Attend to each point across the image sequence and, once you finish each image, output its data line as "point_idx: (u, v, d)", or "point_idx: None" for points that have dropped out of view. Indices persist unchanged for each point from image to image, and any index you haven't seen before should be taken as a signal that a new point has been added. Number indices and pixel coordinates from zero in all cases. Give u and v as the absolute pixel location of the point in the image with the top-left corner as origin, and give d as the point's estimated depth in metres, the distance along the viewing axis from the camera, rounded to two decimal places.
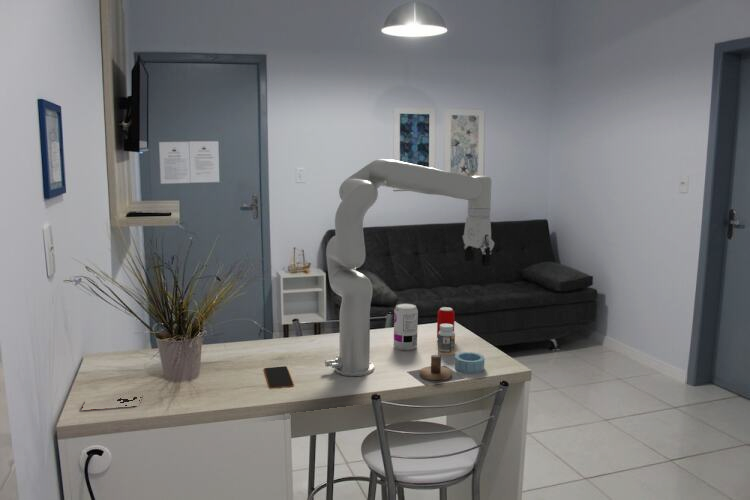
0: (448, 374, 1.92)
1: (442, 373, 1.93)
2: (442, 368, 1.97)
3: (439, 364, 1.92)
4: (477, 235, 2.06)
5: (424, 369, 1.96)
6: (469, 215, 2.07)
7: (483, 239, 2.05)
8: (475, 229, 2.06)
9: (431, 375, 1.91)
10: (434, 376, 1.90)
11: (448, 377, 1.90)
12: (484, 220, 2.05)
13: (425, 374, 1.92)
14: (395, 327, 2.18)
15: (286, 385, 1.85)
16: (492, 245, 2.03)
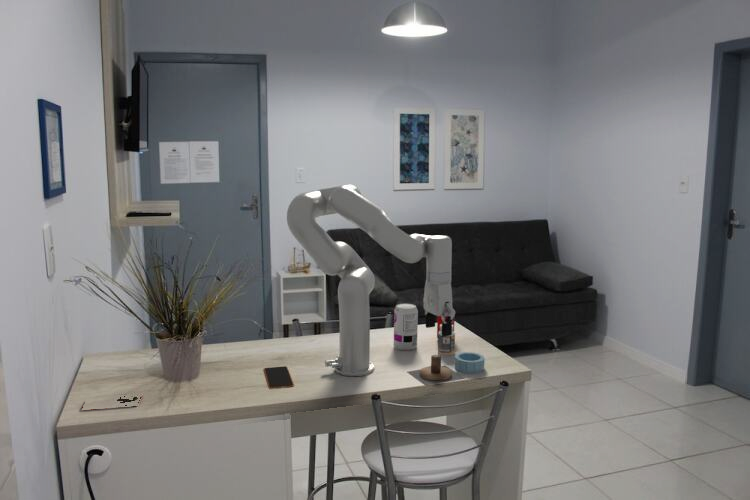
0: (448, 374, 1.92)
1: (442, 373, 1.93)
2: (442, 368, 1.97)
3: (439, 364, 1.92)
4: (437, 302, 1.85)
5: (424, 369, 1.96)
6: (428, 280, 1.87)
7: (443, 307, 1.85)
8: (434, 295, 1.86)
9: (431, 375, 1.91)
10: (434, 376, 1.90)
11: (448, 377, 1.90)
12: (444, 286, 1.84)
13: (425, 374, 1.92)
14: (395, 327, 2.18)
15: (286, 385, 1.85)
16: (453, 314, 1.83)
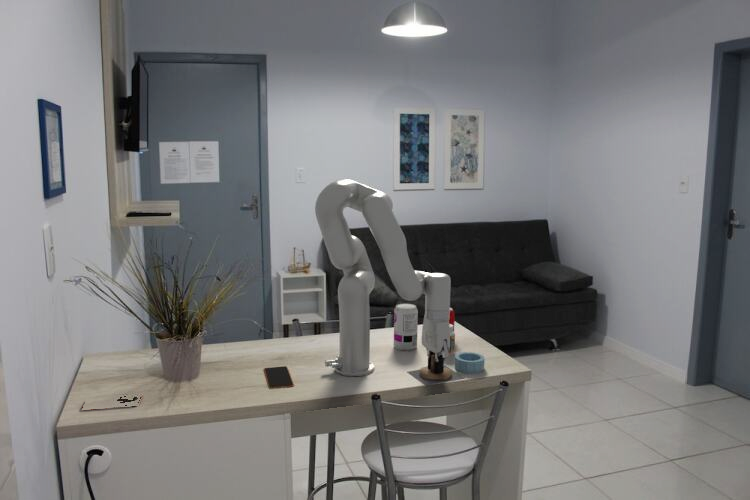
0: (448, 374, 1.92)
1: (442, 373, 1.93)
2: None
3: None
4: (434, 340, 1.87)
5: (424, 369, 1.96)
6: (426, 317, 1.89)
7: None
8: (432, 333, 1.88)
9: (431, 375, 1.91)
10: (434, 376, 1.90)
11: (448, 377, 1.90)
12: (442, 324, 1.86)
13: (425, 374, 1.92)
14: (395, 327, 2.18)
15: (286, 385, 1.85)
16: (446, 357, 1.87)
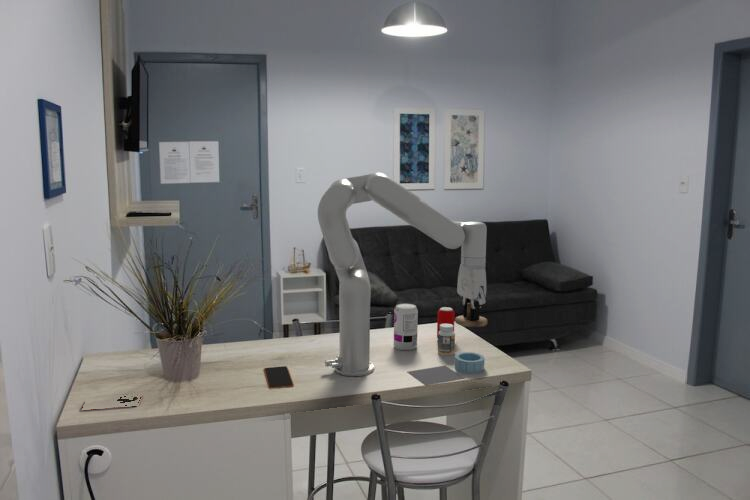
0: (484, 321, 1.95)
1: (478, 320, 1.96)
2: None
3: None
4: (471, 286, 1.91)
5: (459, 317, 1.99)
6: (463, 264, 1.93)
7: (477, 296, 1.91)
8: (469, 280, 1.92)
9: (467, 321, 1.95)
10: (470, 323, 1.93)
11: (484, 323, 1.94)
12: (479, 270, 1.90)
13: (461, 321, 1.95)
14: (395, 327, 2.18)
15: (286, 385, 1.85)
16: (482, 303, 1.91)
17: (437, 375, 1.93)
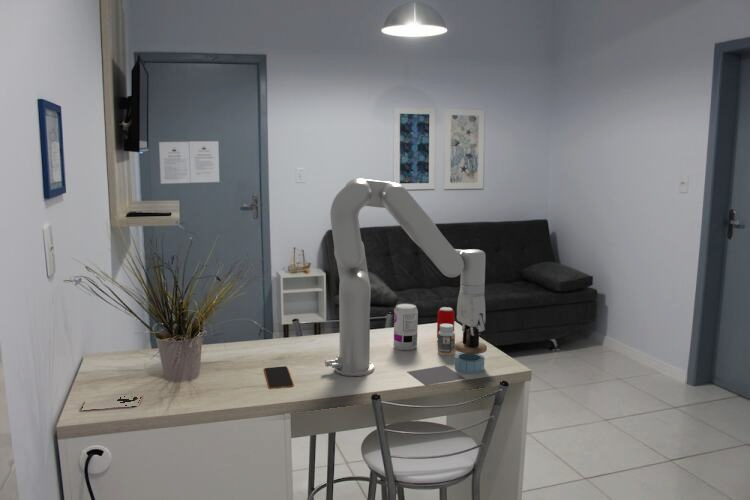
0: (483, 347, 1.97)
1: None
2: None
3: None
4: (470, 314, 1.93)
5: (459, 343, 2.01)
6: (462, 292, 1.94)
7: None
8: (468, 307, 1.93)
9: (467, 348, 1.96)
10: (470, 349, 1.95)
11: (483, 350, 1.96)
12: (478, 298, 1.92)
13: (461, 347, 1.97)
14: (395, 327, 2.18)
15: (286, 385, 1.85)
16: (481, 330, 1.93)
17: (437, 375, 1.93)
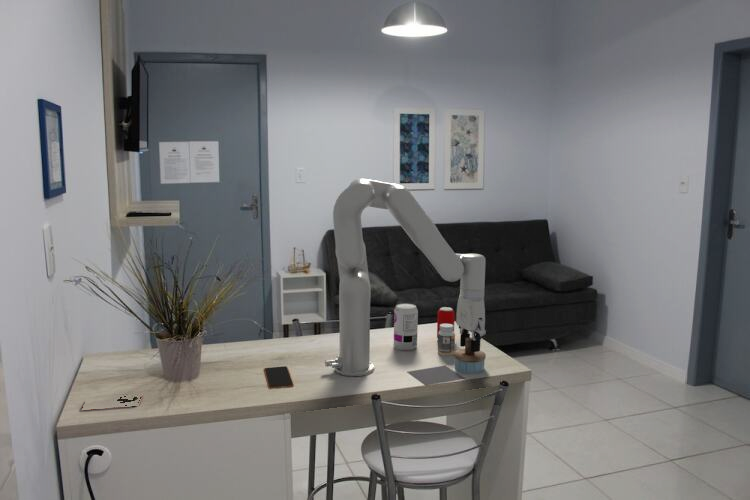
0: (482, 356, 1.97)
1: (476, 355, 1.98)
2: None
3: None
4: (470, 318, 1.93)
5: (458, 351, 2.01)
6: (461, 296, 1.95)
7: (476, 326, 1.93)
8: (468, 311, 1.94)
9: (465, 357, 1.97)
10: (469, 358, 1.95)
11: (482, 359, 1.96)
12: (477, 302, 1.92)
13: (460, 356, 1.97)
14: (395, 327, 2.18)
15: (286, 385, 1.85)
16: (483, 334, 1.92)
17: (437, 375, 1.93)
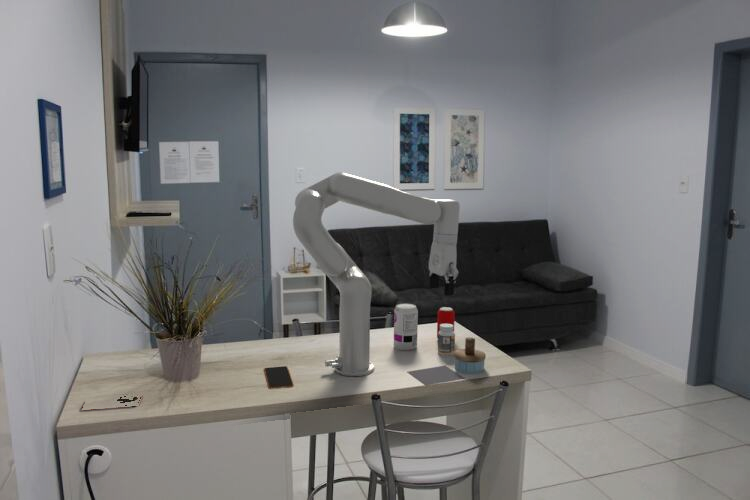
0: (482, 356, 1.97)
1: (476, 355, 1.98)
2: (475, 350, 2.02)
3: (473, 346, 1.98)
4: (441, 262, 1.94)
5: (458, 351, 2.01)
6: (434, 240, 1.96)
7: (447, 267, 1.93)
8: (440, 256, 1.95)
9: (465, 357, 1.97)
10: (469, 358, 1.95)
11: (482, 359, 1.96)
12: (449, 247, 1.93)
13: (460, 356, 1.97)
14: (395, 327, 2.18)
15: (286, 385, 1.85)
16: (456, 274, 1.91)
17: (437, 375, 1.93)
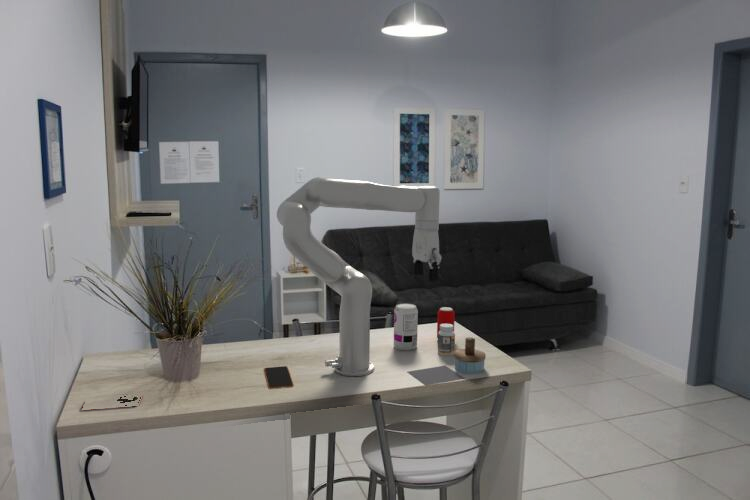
0: (482, 356, 1.97)
1: (476, 355, 1.98)
2: (475, 350, 2.02)
3: (473, 346, 1.98)
4: (424, 248, 1.96)
5: (458, 351, 2.01)
6: (416, 227, 1.98)
7: (430, 253, 1.95)
8: (422, 242, 1.97)
9: (465, 357, 1.97)
10: (469, 358, 1.95)
11: (482, 359, 1.96)
12: (431, 233, 1.95)
13: (460, 356, 1.97)
14: (395, 327, 2.18)
15: (286, 385, 1.85)
16: (439, 259, 1.93)
17: (437, 375, 1.93)
